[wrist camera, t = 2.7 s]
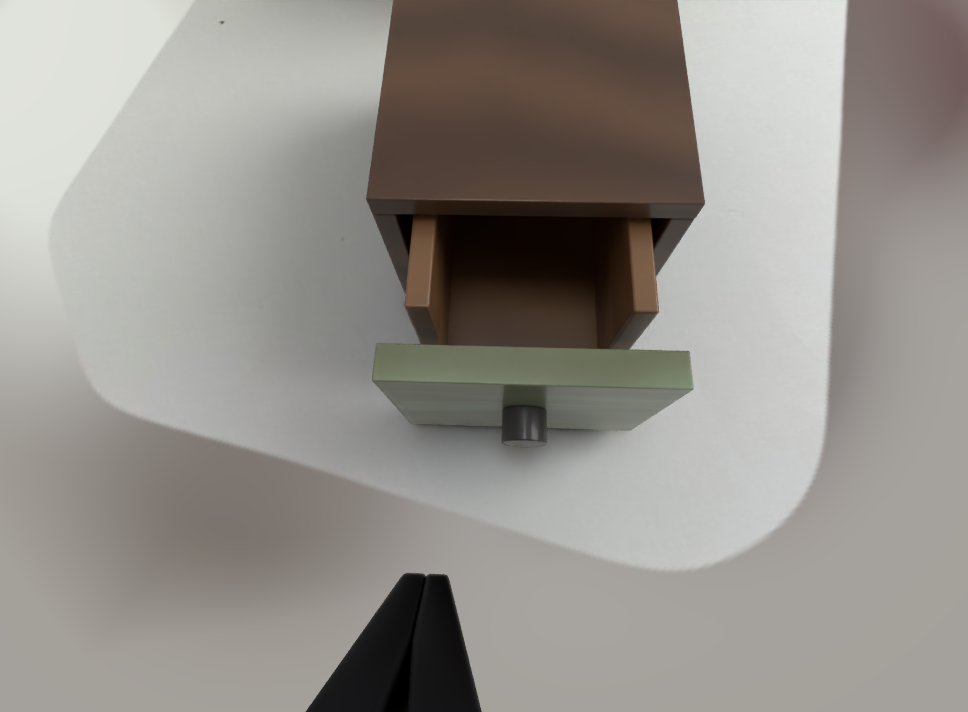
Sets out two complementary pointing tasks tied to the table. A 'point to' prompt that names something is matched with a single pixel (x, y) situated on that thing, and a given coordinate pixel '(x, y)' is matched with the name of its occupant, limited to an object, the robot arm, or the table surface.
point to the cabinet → (535, 116)
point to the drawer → (530, 326)
